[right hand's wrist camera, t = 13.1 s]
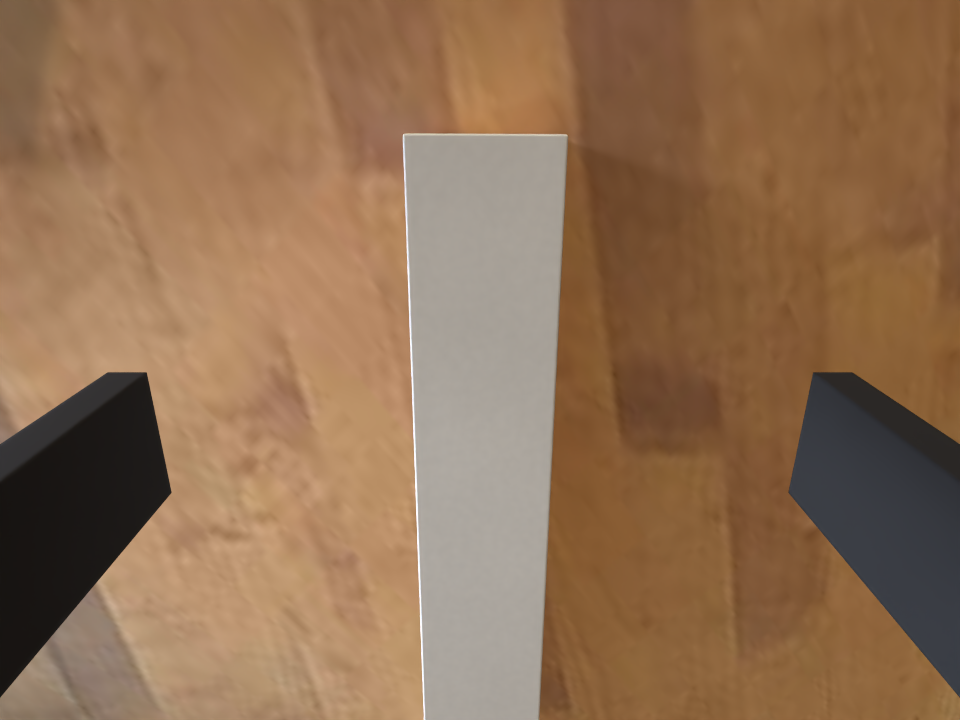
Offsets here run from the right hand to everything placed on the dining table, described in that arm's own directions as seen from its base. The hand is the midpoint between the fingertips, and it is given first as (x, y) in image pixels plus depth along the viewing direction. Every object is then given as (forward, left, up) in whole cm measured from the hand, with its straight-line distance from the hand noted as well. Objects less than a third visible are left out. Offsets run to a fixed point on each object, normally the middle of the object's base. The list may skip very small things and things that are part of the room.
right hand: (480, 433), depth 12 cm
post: (+3, -24, -17) cm, 30 cm away
